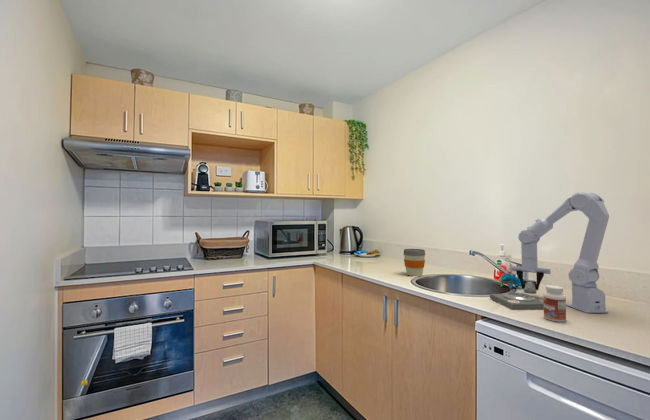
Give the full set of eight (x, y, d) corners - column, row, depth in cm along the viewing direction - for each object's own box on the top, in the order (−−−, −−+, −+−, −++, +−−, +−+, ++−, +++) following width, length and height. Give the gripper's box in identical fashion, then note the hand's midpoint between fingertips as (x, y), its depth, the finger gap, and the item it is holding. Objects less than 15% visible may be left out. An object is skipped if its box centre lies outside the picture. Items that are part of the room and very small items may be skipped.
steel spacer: (539, 293, 129) (538, 282, 129) (528, 293, 129) (528, 282, 129) (531, 291, 133) (531, 279, 133) (521, 291, 133) (521, 279, 133)
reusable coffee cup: (411, 272, 187) (411, 248, 188) (429, 275, 178) (429, 250, 178) (399, 274, 179) (399, 249, 180) (417, 278, 170) (417, 251, 170)
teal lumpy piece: (528, 285, 145) (519, 271, 142) (526, 295, 143) (517, 282, 139) (504, 283, 154) (495, 271, 151) (502, 293, 152) (492, 281, 148)
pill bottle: (539, 316, 106) (538, 284, 106) (555, 315, 106) (554, 284, 106) (554, 322, 99) (553, 289, 100) (571, 322, 100) (570, 288, 100)
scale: (549, 309, 113) (548, 302, 113) (512, 309, 113) (512, 302, 113) (522, 298, 128) (522, 292, 128) (490, 298, 128) (489, 292, 128)
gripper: (549, 257, 131) (550, 289, 130) (510, 255, 139) (510, 285, 138) (550, 259, 125) (551, 292, 124) (509, 257, 133) (510, 288, 132)
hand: (530, 289), depth 131 cm, fingers closed on steel spacer, 5 cm apart
